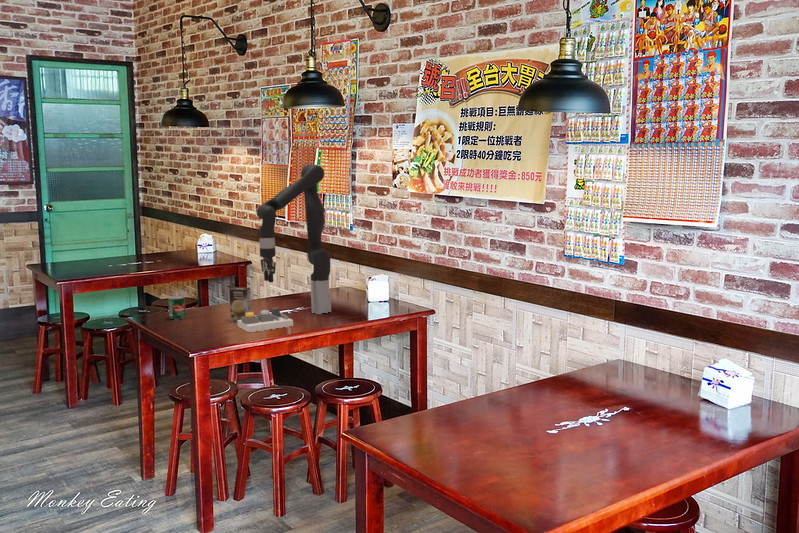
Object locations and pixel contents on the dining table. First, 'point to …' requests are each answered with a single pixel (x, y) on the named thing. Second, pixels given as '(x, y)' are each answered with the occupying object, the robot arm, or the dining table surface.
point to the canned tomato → (176, 307)
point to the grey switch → (265, 313)
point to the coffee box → (239, 302)
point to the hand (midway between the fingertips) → (268, 281)
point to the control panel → (264, 322)
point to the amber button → (249, 315)
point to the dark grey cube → (275, 311)
